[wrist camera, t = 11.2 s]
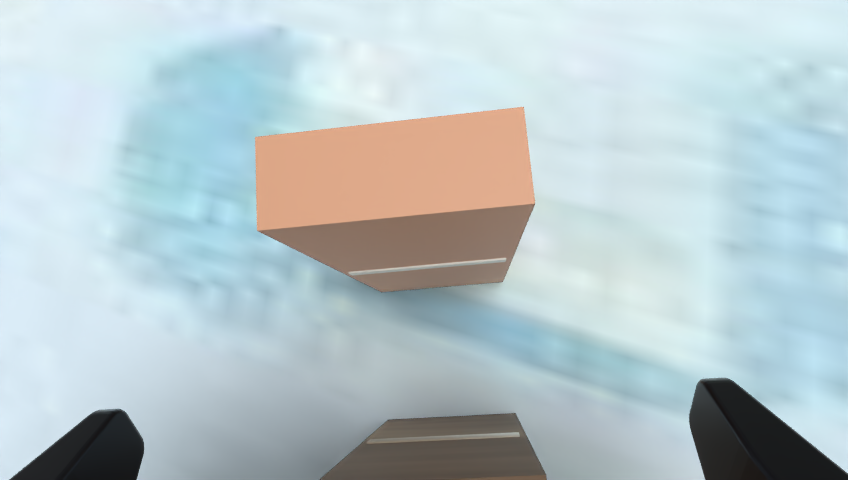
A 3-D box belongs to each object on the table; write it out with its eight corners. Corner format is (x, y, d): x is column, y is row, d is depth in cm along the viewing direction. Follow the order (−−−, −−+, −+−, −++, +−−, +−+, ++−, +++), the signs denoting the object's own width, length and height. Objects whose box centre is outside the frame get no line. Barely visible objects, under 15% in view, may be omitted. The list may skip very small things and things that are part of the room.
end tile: (503, 283, 22) (535, 206, 10) (381, 293, 23) (256, 233, 10) (498, 237, 23) (523, 104, 10) (379, 248, 23) (255, 134, 10)
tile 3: (520, 468, 21) (556, 581, 11) (390, 474, 21) (316, 588, 12) (515, 411, 21) (546, 472, 12) (388, 418, 22) (314, 482, 12)
